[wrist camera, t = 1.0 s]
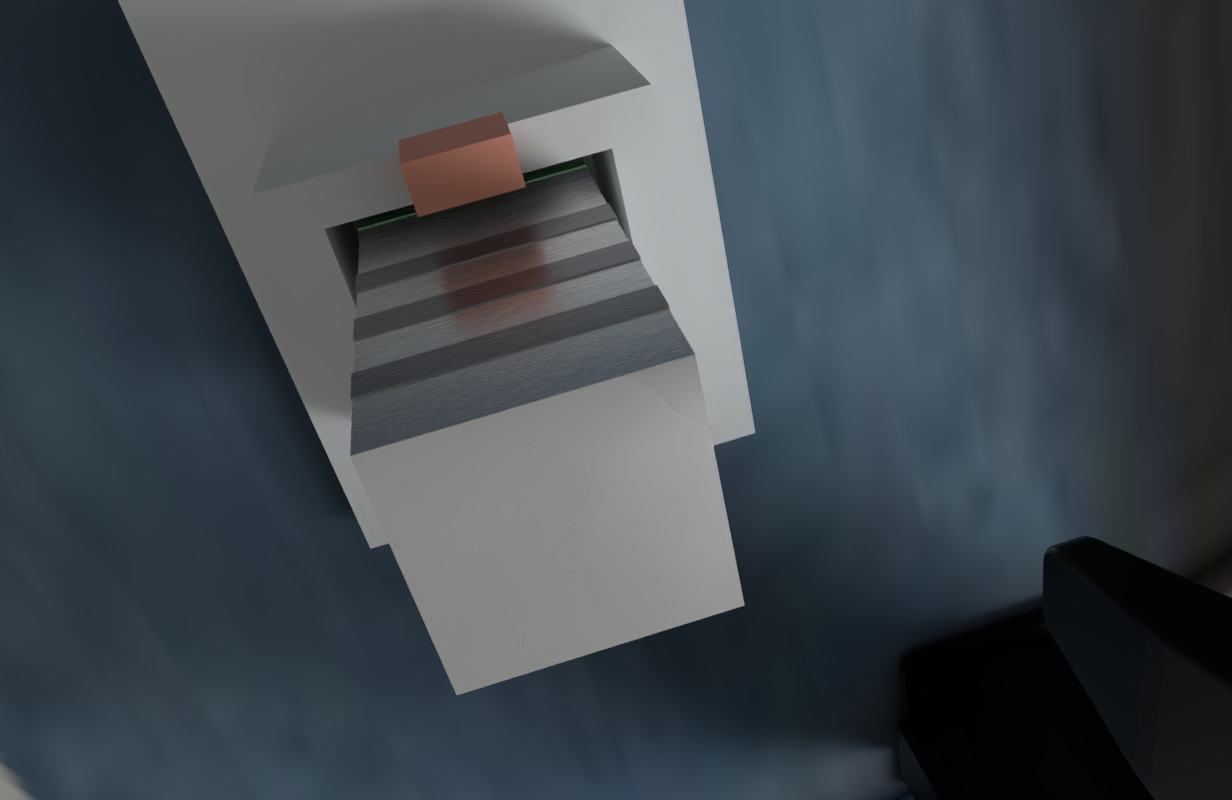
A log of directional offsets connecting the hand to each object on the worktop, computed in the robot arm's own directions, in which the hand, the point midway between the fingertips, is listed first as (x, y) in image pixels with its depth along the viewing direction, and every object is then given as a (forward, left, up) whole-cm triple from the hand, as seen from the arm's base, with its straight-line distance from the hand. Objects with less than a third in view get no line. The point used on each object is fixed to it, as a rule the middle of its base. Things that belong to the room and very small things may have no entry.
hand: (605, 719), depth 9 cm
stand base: (0, 0, -13) cm, 13 cm away
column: (0, 0, -11) cm, 11 cm away
